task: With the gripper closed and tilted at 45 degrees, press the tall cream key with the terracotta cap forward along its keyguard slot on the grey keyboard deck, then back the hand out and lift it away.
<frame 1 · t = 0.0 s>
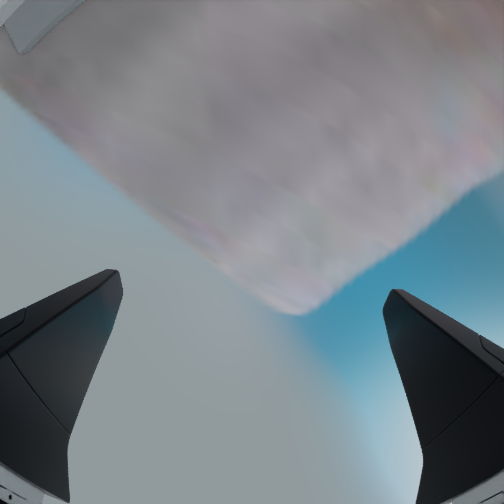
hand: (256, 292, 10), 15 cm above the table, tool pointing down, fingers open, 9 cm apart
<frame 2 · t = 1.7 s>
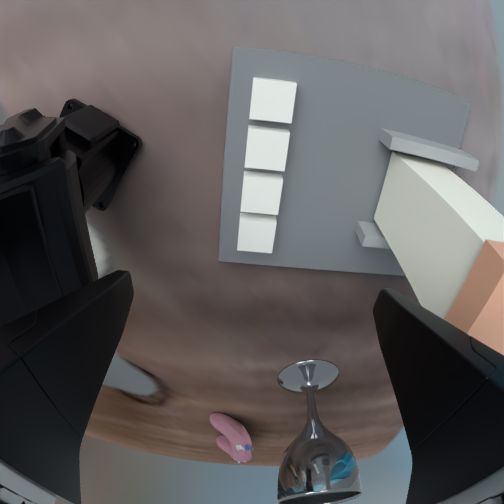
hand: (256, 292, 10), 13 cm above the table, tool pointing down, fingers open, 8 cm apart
key: (450, 240, 15), point 8 cm above the table, slide at 0.0 cm
pink piece: (233, 423, 43), on the table
wine glass: (308, 376, 35), on the table
keyboard deck: (343, 172, 21), on the table
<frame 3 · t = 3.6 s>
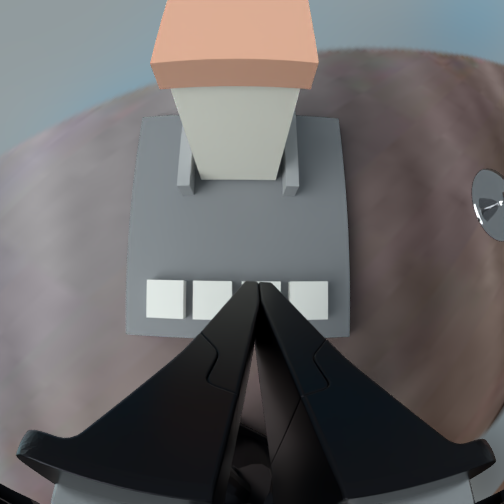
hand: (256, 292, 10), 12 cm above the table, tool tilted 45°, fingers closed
key: (237, 103, 16), point 8 cm above the table, slide at 0.0 cm
wine glass: (496, 204, 24), on the table
keyboard deck: (238, 220, 23), on the table
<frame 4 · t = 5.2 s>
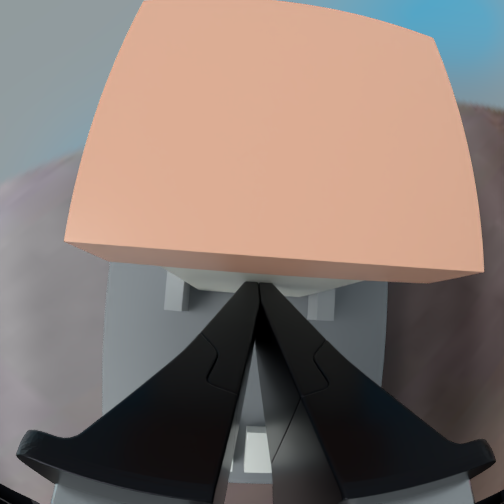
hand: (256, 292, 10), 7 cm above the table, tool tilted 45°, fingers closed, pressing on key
key: (262, 218, 10), point 8 cm above the table, slide at 0.1 cm, touching gripper
keyboard deck: (245, 343, 17), on the table
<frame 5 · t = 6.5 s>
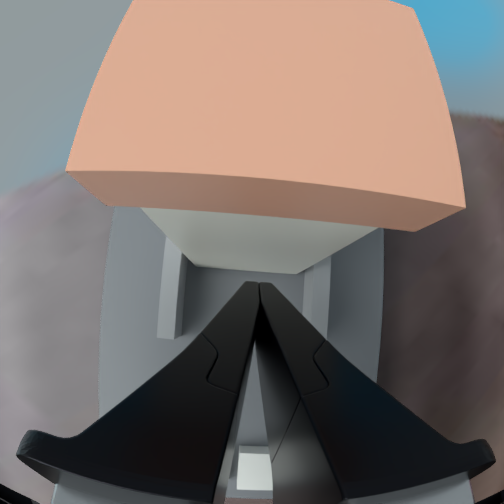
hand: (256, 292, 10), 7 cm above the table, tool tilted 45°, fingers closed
key: (257, 186, 10), point 8 cm above the table, slide at 2.5 cm
keyboard deck: (238, 365, 17), on the table
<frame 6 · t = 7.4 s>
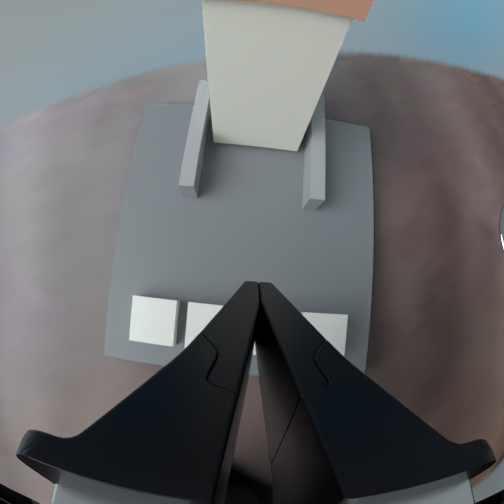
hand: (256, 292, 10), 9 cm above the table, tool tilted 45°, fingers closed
key: (268, 51, 13), point 8 cm above the table, slide at 2.5 cm
keyboard deck: (246, 233, 19), on the table
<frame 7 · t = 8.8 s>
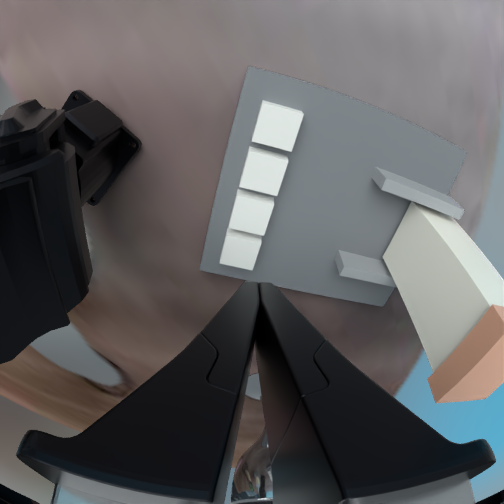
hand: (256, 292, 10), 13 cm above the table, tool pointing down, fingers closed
key: (453, 291, 17), point 8 cm above the table, slide at 2.5 cm
wine glass: (269, 386, 36), on the table
keyboard deck: (331, 202, 23), on the table
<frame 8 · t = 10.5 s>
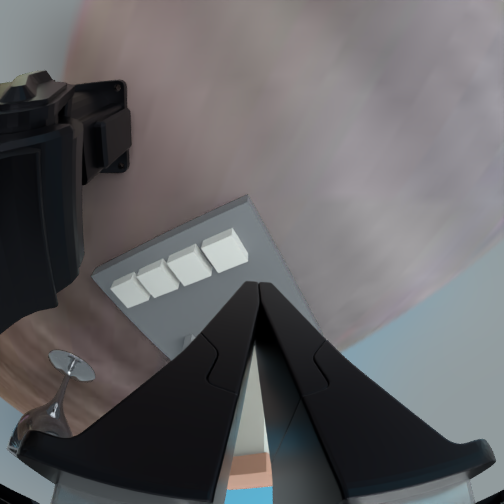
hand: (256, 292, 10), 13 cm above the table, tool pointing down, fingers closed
key: (247, 416, 26), point 8 cm above the table, slide at 2.5 cm
wine glass: (71, 365, 36), on the table
keyboard deck: (212, 304, 28), on the table
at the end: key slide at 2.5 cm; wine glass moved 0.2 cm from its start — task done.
